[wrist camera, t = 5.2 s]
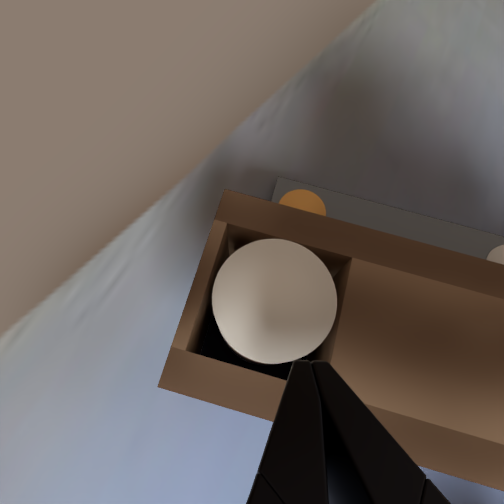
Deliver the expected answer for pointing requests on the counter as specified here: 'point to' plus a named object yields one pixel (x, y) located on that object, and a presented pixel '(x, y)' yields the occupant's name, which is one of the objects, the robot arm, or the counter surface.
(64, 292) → the counter surface
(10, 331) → the counter surface
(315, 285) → the beige cylinder
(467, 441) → the button console
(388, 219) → the pattern card
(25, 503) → the counter surface
